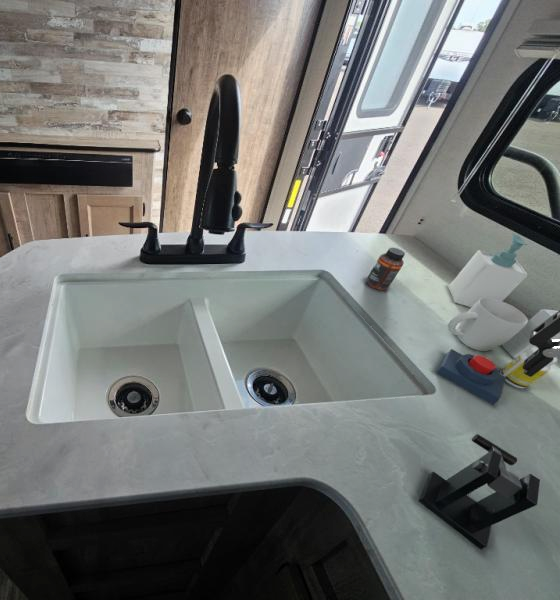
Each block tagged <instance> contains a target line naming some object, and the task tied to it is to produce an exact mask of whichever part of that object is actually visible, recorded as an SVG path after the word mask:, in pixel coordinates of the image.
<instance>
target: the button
mask: <svg viewBox="0 0 560 600" xmlns="http://www.w3.org/2000/svg"><path fill="white" fill-rule="evenodd" d="M469 365H470V366H471V367H472V368H473V369H475V370H476V371H478V372H480V373H483V374H489V373H490V372H491V371H493V370H494V369H495V367H496V364H495V363H494V362H493V361H492V360H490V359H489V358H487V357H486V356H483V355H479V354H478V355H475V356H474V357H473V358H472V359H471V360H470V361H469Z"/></svg>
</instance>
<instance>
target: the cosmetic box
mask: <svg viewBox="0 0 560 600" xmlns="http://www.w3.org/2000/svg"><path fill="white" fill-rule="evenodd" d="M558 311H559V310H555V309H554V310H553V309H545V308H541V309H540V310H539V311H538V312H537V313H536V314H534V315H533V316H532V317H531V318H530V319H528V323H527V324H526V325H525V326H524V327H523V328H522V329H521V330H520V331H519V332H518V333H517V334H516V335H514V336H513V337H512V338H510V339H509V340H508V341H506V342H504V343H503V344H501V347H502V348H503V349H504V350H505V352H507V353H508V354H509V355H510V356H511V357H512V358H514V359H516V358H517V357H518V356H519V355H520V354H522V353H525V352H527V351H528V350H530V349H531V348H532V347H536V346H534V345H532V344H530V342H529V339H530V334H531V331H532V330H534V329H535V328H536V327H538V326H539V325H540V324H542V323H543V322H544V321H546V320H547V319H548V318H550V317H551V316H552V315H554V314H555V313H556V312H558ZM557 339H560V332H559V333H558V334H556V335H555V336H554V337H552V338H551V340H557Z"/></svg>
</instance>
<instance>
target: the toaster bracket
mask: <svg viewBox="0 0 560 600" xmlns="http://www.w3.org/2000/svg"><path fill="white" fill-rule="evenodd" d="M500 460H501V455H500V454H498V453H497V452H495V451H494V450H492V451H490V452H489V453H488V452H487V453H486V454H484V455H482V456H481V457H480V458H478V459H476V460H475V461H474V462H471V463H470V464H469V465H467V466H465V467H464V468H462V469H461V470H460V471H458V472H456V473H454V474H453V475H452V476H450V477H448V478H447V479H445V478H443V476H441V475H440V474H438V473H437V472H435V471H431V472H430V473H429V474H428V475H427V478H426V481H425V483H424V485H423V487H422V490H421V492H420V495H419V498H418V502H419V504H421V505H422V506H424V508H426V509H427V510H429V511H430V512H432V514H434V515H435V516H437V517H438V518H439V519H441V520H442V521H443V522H444V523H446V524H447V525H448V526H449V527H450V528H452V529H453V530H455V531H456V532H458V533H459V534H460V535H461V536H463V537H464V538H465V539H466V540H468V541H469V542H470V543H472V544H473V545H474V546H476V547H477V548H478V549H479V550H483V549H486V548H487V547H488V543H489V538H490V534H491V528H492V526H493V525H495V524H498V523H501V522H502V521H504V520H506V519H508V518H511V517H514V516H515V515H517V514H521V513H522V512H525V511H527V510H529V509H531V508H533V507H536V506H538V501H539V492H540V484H541V479H540V478H538V477H537V476H535V475H533V474H532V473H529V474H526V475H524V476H523V477H521V478H519V480H520V483H521V486H522V489H521V490H519V491H518V492H517V493H516V494H514V495H513V496H512V497H511V498H509V499H506V498H505V497H503V496H502V495H500V494H499V493H497V492H496V491H494V492H493V493H490V494H489V495H486V496H485V497H483V498H481V499H480V500H477V501H476V500H475V499H473V498H472V497H470V496H469V495H470V494H471V493H472V492H474V491H476V490H479V489H480V488H482V487H483V486H485V485H487V483H489V482H490V481H492V480H494V479H496V478H497V473H498V469H499V464H500Z"/></svg>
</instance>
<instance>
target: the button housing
mask: <svg viewBox="0 0 560 600" xmlns="http://www.w3.org/2000/svg"><path fill="white" fill-rule="evenodd" d="M474 356H476V355H475V354H471V353H466V354H465V353H464V354H463V353H460V352H458V351H457V350H454V349H453V348H450V349H449V350H448V351H447V352H446V353H445V354H444V356H443V358H442V360H441V362H440V364H439V366H438V368H437V370H436V372H435V374H437V375H439V376H441V377H442V378H444V379H445V380H448V381H449V382H451V383H453V384H454V385H456V386H458V387H460V388H461V389H463V390H465V391H467V392H468V393H471V394H472V395H474V396H476V397H478V398H480V399H482V400H483V401H485V402H486V403H488V404H490V405H494V404H495V403H496V402H498V401H499V400H500V399H501V397H502V393H503V389H504V387H505V382H506V381H505V379H506V377H504V376H502V375H501V374H500V371H498V369H497V366H495V369H494V370H493V371H491V372H490V373H489V374H483V373H480V372H478V371H476V370H475V369H473V368H472V367H471V366H470V365H469V361H470V360H471V359H472V358H473V357H474Z"/></svg>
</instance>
